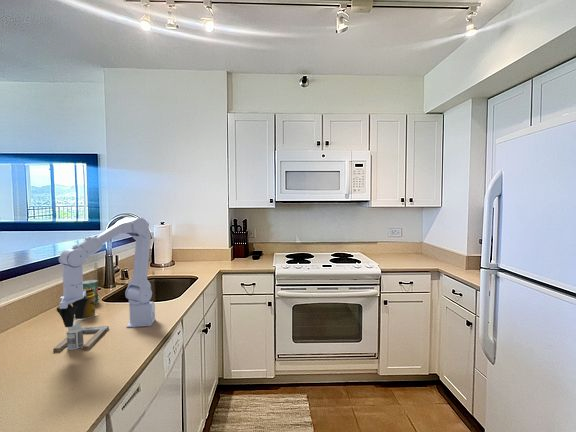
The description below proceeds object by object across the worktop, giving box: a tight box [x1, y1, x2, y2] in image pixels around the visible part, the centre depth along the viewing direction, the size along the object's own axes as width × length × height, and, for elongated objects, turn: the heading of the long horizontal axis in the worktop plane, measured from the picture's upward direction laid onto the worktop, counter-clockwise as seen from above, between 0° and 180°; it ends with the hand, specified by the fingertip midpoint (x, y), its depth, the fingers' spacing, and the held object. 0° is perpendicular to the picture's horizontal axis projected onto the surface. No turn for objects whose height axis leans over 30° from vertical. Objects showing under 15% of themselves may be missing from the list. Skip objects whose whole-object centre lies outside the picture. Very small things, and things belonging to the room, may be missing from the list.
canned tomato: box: [83, 279, 99, 305], centre depth 161 cm, size 8×8×11 cm
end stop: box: [82, 325, 109, 334], centre depth 127 cm, size 11×3×1 cm, turn 99°
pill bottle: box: [66, 320, 84, 351], centre depth 114 cm, size 5×5×8 cm
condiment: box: [74, 288, 100, 321], centre depth 143 cm, size 7×8×12 cm
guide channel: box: [52, 329, 107, 353], centre depth 118 cm, size 11×15×1 cm
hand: (74, 322), depth 113 cm, fingers open, 7 cm apart
